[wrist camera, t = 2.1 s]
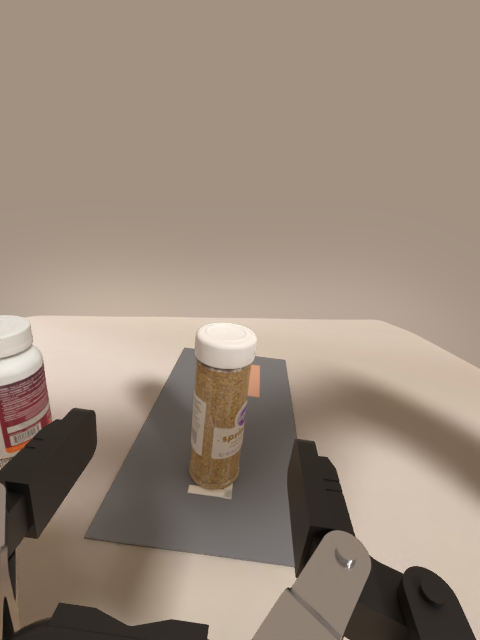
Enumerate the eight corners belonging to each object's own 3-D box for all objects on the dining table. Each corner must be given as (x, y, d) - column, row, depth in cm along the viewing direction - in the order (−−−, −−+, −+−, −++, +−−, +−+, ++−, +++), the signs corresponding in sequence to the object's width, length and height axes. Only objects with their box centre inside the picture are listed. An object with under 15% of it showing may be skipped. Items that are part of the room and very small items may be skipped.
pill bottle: (59, 413, 33) (46, 312, 29) (42, 457, 28) (24, 341, 23) (-11, 418, 31) (-35, 312, 27) (-43, 467, 26) (-79, 343, 22)
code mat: (285, 360, 49) (285, 359, 49) (315, 570, 21) (316, 567, 21) (184, 348, 50) (184, 347, 50) (84, 538, 22) (84, 536, 22)
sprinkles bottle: (235, 497, 26) (254, 349, 21) (181, 486, 26) (187, 339, 21) (242, 455, 30) (260, 325, 25) (195, 446, 30) (204, 317, 25)
